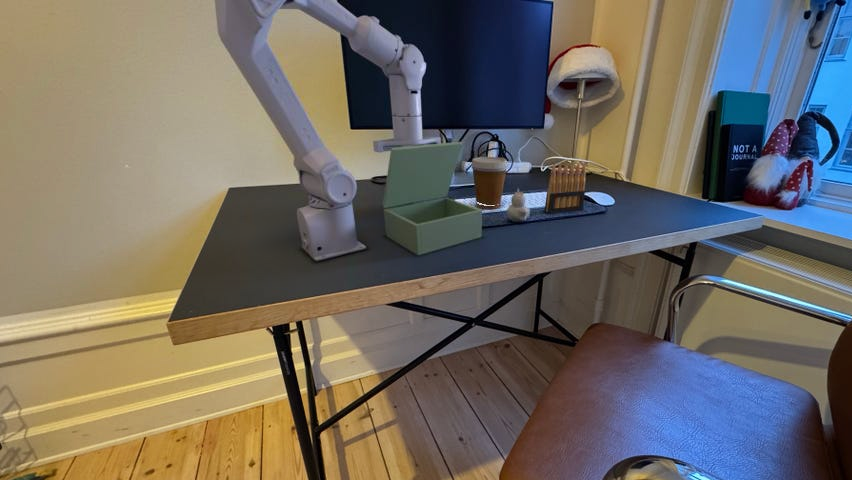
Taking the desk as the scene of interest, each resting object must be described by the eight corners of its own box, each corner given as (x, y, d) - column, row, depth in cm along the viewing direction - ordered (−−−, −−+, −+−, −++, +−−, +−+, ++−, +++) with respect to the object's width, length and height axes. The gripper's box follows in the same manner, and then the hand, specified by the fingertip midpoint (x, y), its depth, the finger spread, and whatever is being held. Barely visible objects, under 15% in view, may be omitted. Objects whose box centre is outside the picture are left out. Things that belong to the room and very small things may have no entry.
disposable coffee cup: (506, 211, 93) (509, 163, 88) (469, 210, 94) (469, 162, 88) (505, 201, 102) (507, 157, 97) (471, 200, 102) (471, 156, 97)
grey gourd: (521, 216, 90) (524, 184, 87) (534, 225, 85) (537, 190, 81) (501, 218, 88) (503, 185, 85) (513, 227, 83) (515, 192, 79)
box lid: (462, 143, 74) (461, 141, 74) (392, 149, 64) (391, 147, 65) (447, 196, 83) (445, 194, 83) (383, 208, 74) (382, 206, 74)
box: (481, 237, 77) (482, 210, 75) (418, 255, 68) (416, 226, 66) (446, 221, 86) (446, 197, 83) (386, 236, 77) (383, 209, 74)
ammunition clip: (547, 213, 93) (552, 165, 87) (544, 211, 94) (548, 163, 89) (583, 209, 96) (590, 163, 91) (578, 207, 98) (585, 161, 92)
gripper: (426, 113, 79) (429, 176, 85) (363, 115, 71) (371, 185, 77) (445, 115, 74) (447, 182, 80) (380, 117, 66) (387, 192, 72)
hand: (411, 184), depth 78 cm, fingers closed
